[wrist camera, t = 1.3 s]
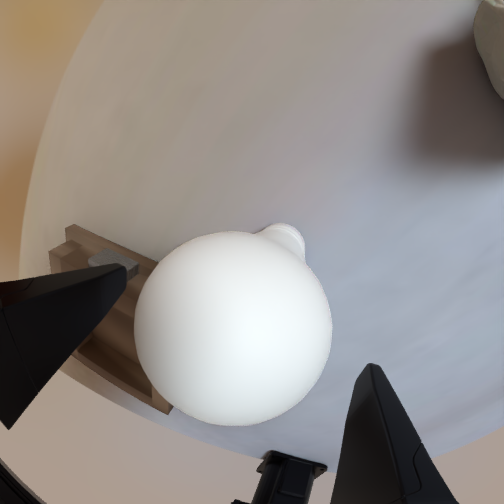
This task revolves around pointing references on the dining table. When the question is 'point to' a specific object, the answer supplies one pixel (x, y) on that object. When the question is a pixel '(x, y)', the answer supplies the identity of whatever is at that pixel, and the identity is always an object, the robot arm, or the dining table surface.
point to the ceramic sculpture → (491, 40)
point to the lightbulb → (234, 326)
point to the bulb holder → (111, 314)
